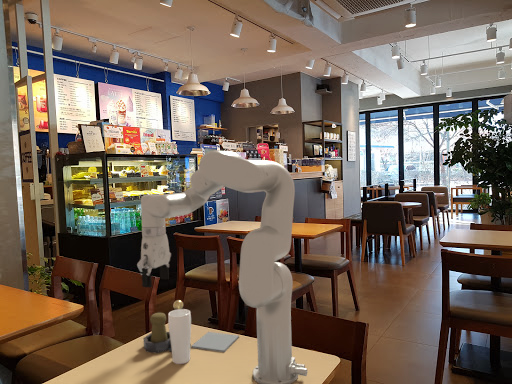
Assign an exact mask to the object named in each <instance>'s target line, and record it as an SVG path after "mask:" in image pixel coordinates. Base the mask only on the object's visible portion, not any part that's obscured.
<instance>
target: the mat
mask: <svg viewBox="0 0 512 384" xmlns="http://www.w3.org/2000/svg"><path fill="white" fill-rule="evenodd" d="M239 338H240V335H237V334H229V333H222V332H221V333H220V332H215V331H214V332H213V331H208V332H206V333H205V334H204V335H202V337H200V338H199V339H197V341H195V342H194V343H193V344H191V347H190V349H192V348H193V349H199V350H204V351H205V350H206V351H211V352H220V353H226V351H228V349H230V347H231V346H232V345H233V344H234V343H235V342H237V340H238V339H239Z"/></svg>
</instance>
